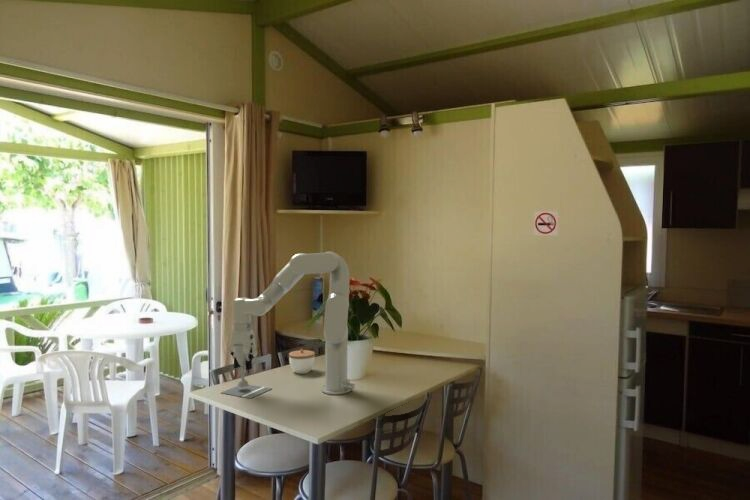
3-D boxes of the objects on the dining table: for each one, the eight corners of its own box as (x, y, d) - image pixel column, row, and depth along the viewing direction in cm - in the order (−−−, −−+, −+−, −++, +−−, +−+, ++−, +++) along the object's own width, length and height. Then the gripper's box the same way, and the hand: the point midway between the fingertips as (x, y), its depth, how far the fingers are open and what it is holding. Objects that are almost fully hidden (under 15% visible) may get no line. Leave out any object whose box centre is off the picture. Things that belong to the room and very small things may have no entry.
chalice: (235, 388, 212) (234, 346, 211) (233, 384, 218) (232, 343, 217) (252, 386, 215) (252, 344, 214) (250, 382, 221) (249, 341, 220)
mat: (271, 389, 218) (271, 388, 218) (250, 398, 206) (250, 397, 206) (242, 384, 225) (242, 383, 225) (220, 393, 213) (220, 392, 213)
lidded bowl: (307, 376, 238) (307, 353, 238) (284, 373, 242) (284, 351, 242) (319, 369, 250) (319, 347, 249) (297, 367, 254) (296, 345, 254)
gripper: (264, 326, 215) (264, 368, 216) (233, 323, 222) (233, 364, 223) (252, 329, 208) (253, 373, 209) (220, 326, 216) (221, 368, 216)
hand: (242, 368), depth 216 cm, fingers closed on chalice, 5 cm apart
